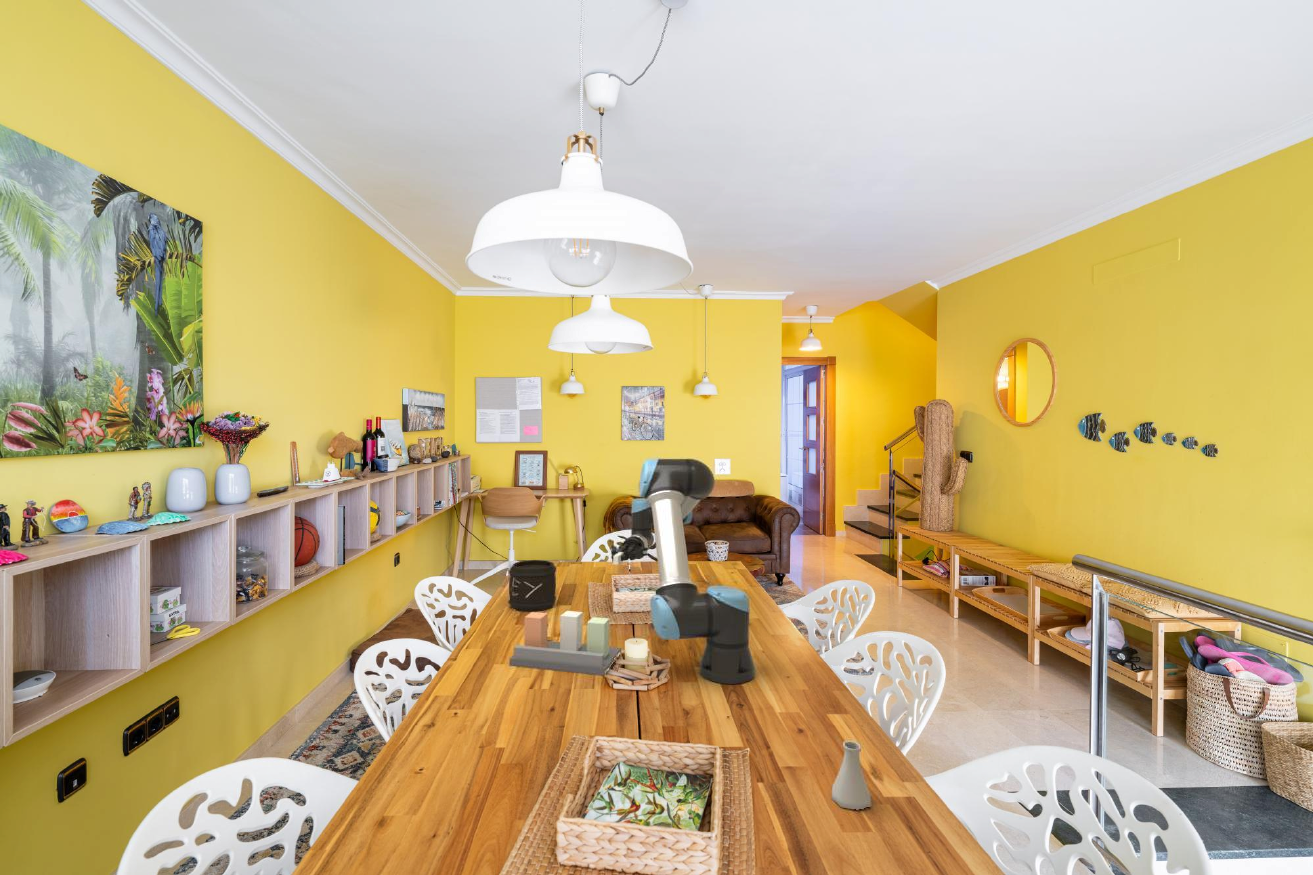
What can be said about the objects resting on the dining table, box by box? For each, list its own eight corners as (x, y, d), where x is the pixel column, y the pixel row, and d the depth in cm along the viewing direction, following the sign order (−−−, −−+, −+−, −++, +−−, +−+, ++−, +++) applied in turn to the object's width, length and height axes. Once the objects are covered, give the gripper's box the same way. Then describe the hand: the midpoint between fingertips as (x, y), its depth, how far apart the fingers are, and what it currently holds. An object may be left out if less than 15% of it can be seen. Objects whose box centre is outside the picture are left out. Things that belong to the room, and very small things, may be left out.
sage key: (608, 653, 175) (609, 618, 175) (603, 659, 170) (604, 623, 170) (592, 651, 176) (592, 617, 176) (586, 657, 171) (587, 622, 171)
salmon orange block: (547, 647, 179) (547, 613, 179) (540, 653, 174) (540, 618, 174) (531, 645, 180) (531, 611, 180) (524, 651, 175) (524, 616, 175)
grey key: (582, 645, 181) (582, 612, 181) (576, 651, 176) (576, 617, 176) (566, 644, 182) (566, 610, 182) (560, 649, 177) (560, 615, 177)
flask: (863, 787, 114) (864, 734, 114) (878, 811, 107) (879, 755, 107) (825, 787, 114) (826, 734, 114) (838, 811, 107) (838, 755, 107)
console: (621, 654, 180) (621, 637, 180) (604, 675, 165) (605, 657, 165) (533, 645, 186) (533, 629, 186) (509, 665, 171) (509, 647, 171)
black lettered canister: (498, 605, 229) (498, 563, 229) (539, 596, 241) (540, 557, 241) (522, 616, 216) (522, 572, 216) (565, 607, 228) (565, 565, 227)
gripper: (652, 558, 211) (635, 573, 188) (616, 556, 214) (595, 571, 191) (653, 536, 211) (636, 549, 188) (616, 534, 214) (595, 547, 191)
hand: (615, 560), depth 189 cm, fingers closed
